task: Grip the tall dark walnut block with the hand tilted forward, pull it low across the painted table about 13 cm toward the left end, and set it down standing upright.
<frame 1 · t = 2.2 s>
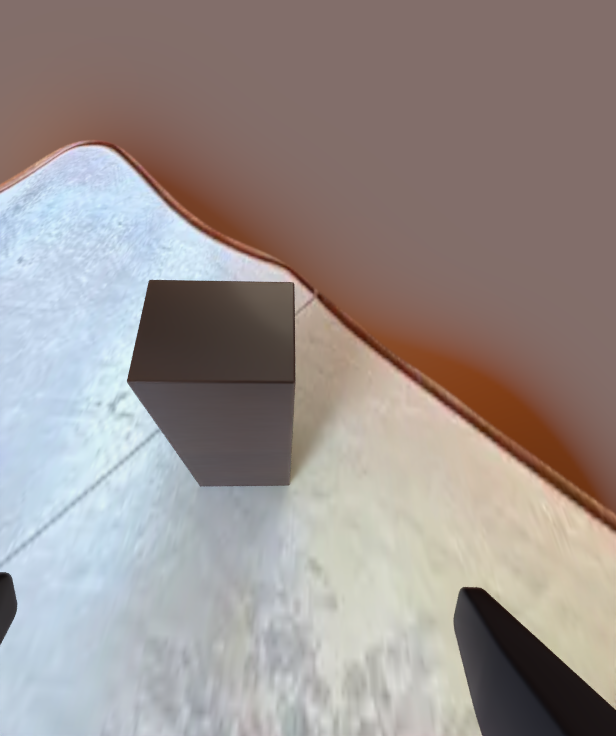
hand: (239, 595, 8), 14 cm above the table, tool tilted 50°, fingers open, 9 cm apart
walnut block: (246, 451, 24), on the table
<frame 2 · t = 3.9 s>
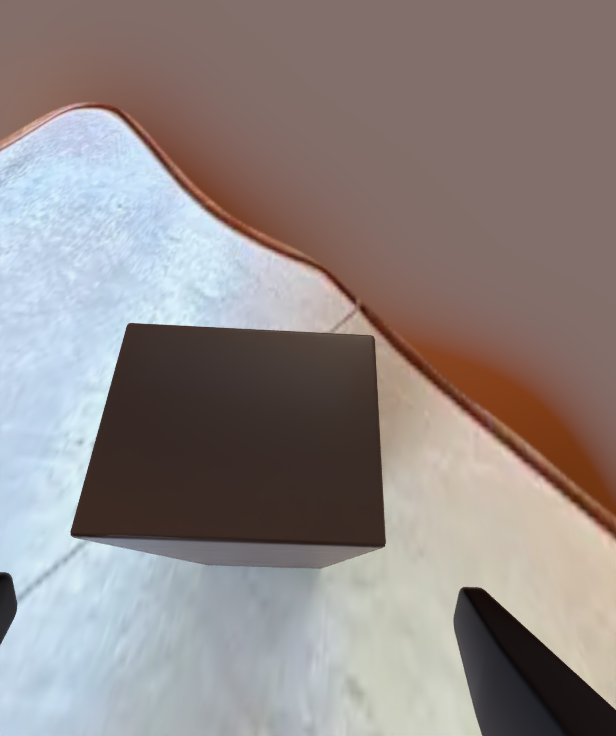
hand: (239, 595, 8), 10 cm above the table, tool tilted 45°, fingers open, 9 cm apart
walnut block: (267, 517, 18), on the table
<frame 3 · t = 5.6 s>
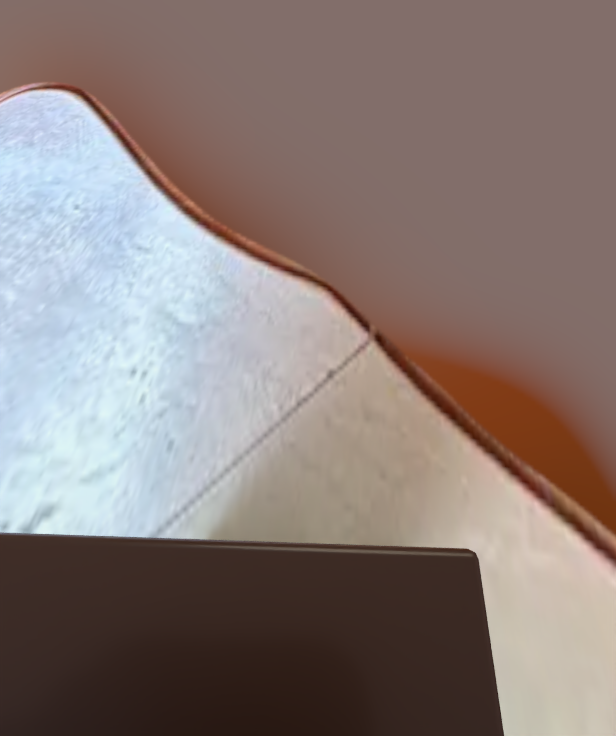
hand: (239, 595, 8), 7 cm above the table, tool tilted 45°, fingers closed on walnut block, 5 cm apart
walnut block: (253, 636, 14), on the table, touching gripper
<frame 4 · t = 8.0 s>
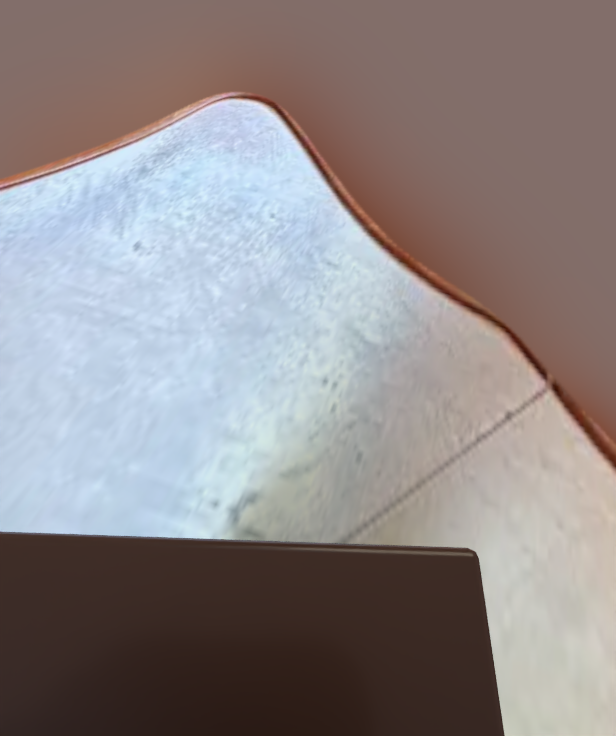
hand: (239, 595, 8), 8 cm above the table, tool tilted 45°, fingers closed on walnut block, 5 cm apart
walnut block: (253, 636, 14), point 1 cm above the table, touching gripper
when the fingers open (7 cm above the table, at t = 10.5 s): walnut block stays where it is, on the table.
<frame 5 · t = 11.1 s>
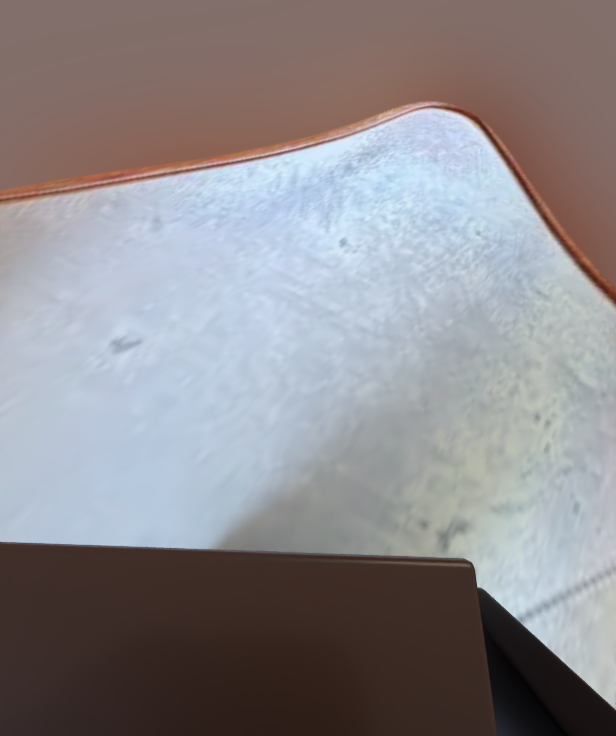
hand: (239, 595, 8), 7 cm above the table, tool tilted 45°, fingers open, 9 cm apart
walnut block: (254, 638, 14), on the table
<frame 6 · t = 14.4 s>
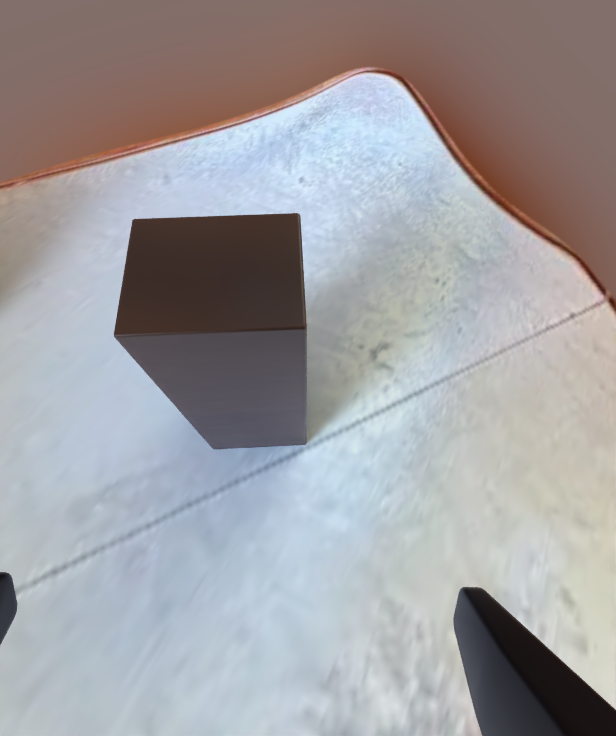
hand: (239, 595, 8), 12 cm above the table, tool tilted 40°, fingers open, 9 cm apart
walnut block: (259, 411, 23), on the table
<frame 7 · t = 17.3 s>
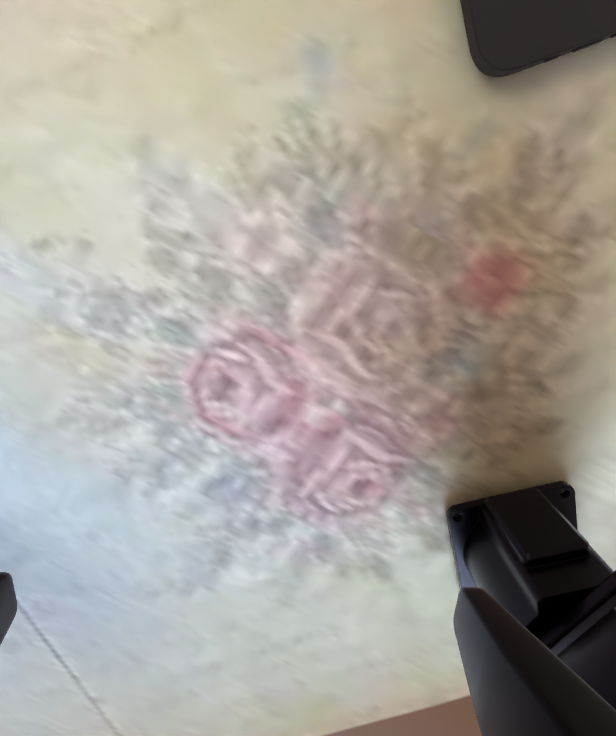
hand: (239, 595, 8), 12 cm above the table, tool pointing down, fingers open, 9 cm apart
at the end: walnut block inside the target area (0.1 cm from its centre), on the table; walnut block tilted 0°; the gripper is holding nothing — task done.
